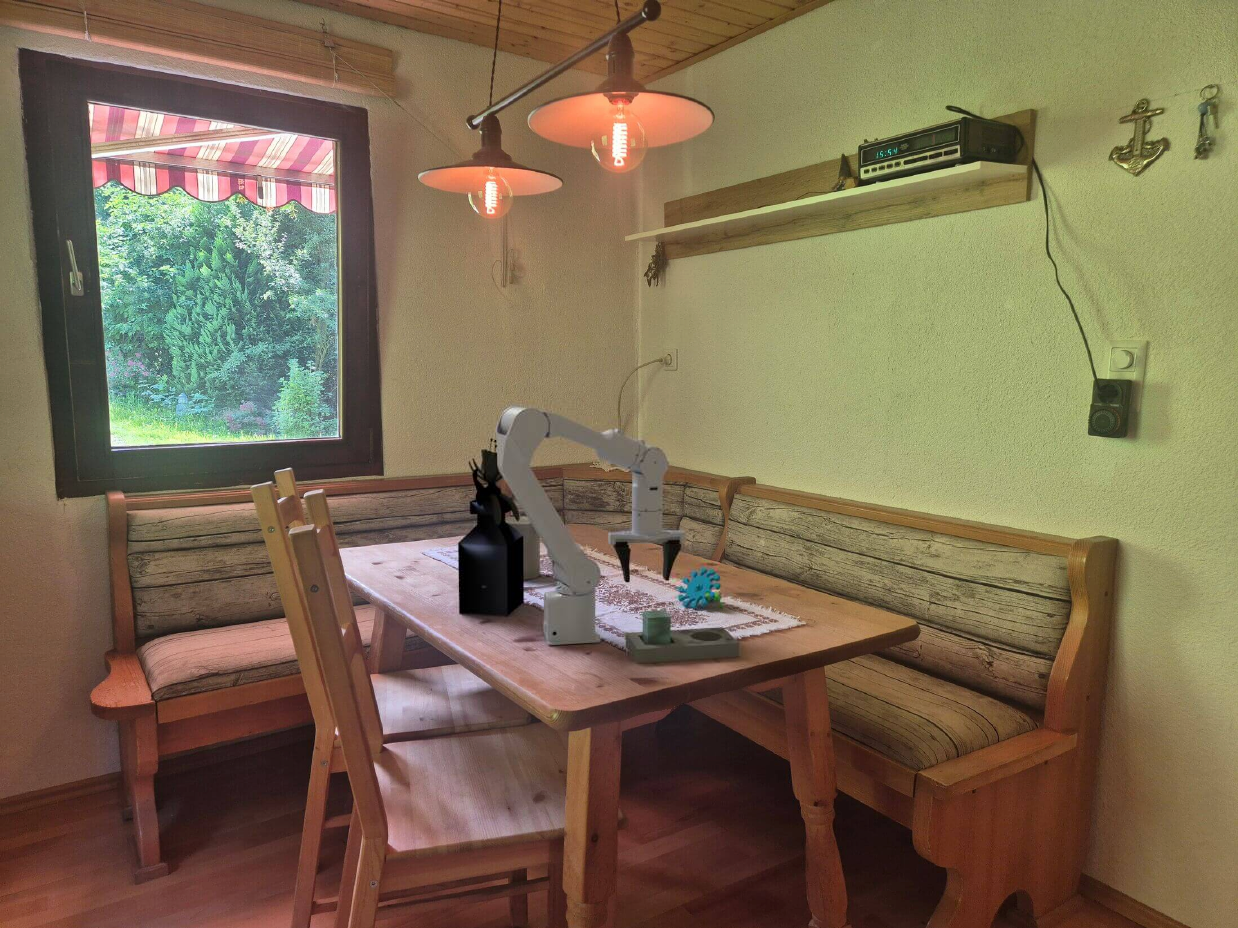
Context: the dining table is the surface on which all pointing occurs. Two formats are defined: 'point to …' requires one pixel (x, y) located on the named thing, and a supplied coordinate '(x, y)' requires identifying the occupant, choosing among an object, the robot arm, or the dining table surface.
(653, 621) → the square peg
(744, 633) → the dining table surface
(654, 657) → the hole plate
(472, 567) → the vase
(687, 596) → the gear
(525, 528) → the pillar candle
